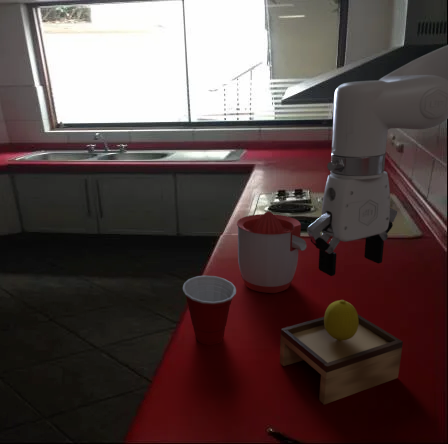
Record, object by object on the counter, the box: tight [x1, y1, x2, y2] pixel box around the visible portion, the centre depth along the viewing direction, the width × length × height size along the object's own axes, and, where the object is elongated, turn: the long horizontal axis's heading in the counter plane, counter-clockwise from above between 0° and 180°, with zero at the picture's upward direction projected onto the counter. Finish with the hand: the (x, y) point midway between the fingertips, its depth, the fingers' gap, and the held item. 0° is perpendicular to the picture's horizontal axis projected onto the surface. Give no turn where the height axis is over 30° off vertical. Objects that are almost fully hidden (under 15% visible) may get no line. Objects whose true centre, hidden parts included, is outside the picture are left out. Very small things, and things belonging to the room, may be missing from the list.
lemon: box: [323, 299, 359, 341], centre depth 73 cm, size 6×6×8 cm
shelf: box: [279, 314, 404, 405], centre depth 75 cm, size 16×12×7 cm
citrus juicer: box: [236, 210, 307, 294], centre depth 106 cm, size 16×17×20 cm
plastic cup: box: [182, 275, 237, 346], centre depth 86 cm, size 11×11×12 cm
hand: (350, 266), depth 70 cm, fingers open, 9 cm apart
